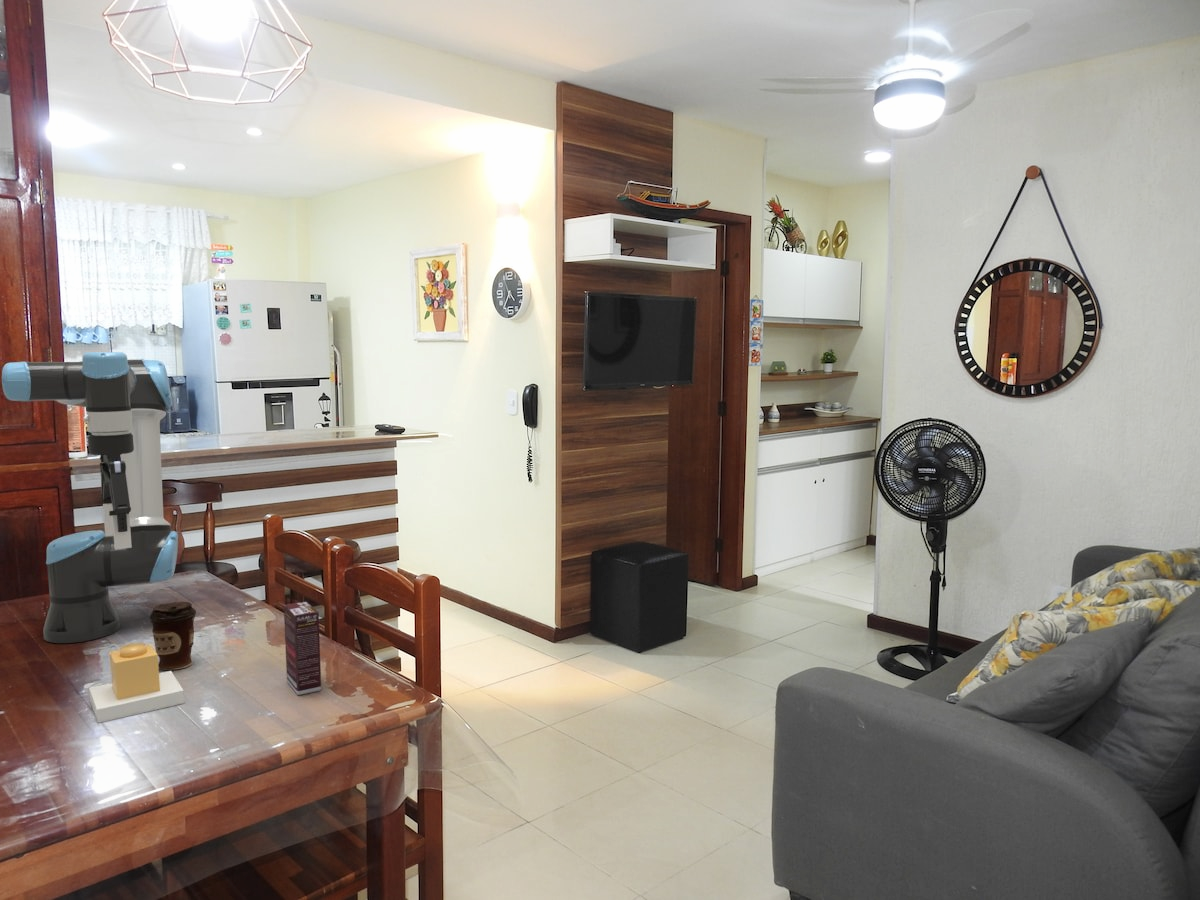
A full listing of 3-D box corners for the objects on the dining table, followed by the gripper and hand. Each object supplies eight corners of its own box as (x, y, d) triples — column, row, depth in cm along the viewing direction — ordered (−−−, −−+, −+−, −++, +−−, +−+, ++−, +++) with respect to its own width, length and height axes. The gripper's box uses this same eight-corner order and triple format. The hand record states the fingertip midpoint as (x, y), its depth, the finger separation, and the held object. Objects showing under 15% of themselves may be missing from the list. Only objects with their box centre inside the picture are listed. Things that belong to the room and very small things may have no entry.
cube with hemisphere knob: (112, 687, 158) (108, 645, 157) (153, 678, 162) (150, 638, 161) (117, 700, 153) (114, 656, 152) (160, 690, 157) (157, 648, 156)
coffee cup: (178, 675, 171) (174, 613, 169) (143, 672, 172) (138, 610, 171) (206, 659, 179) (203, 600, 177) (172, 656, 181) (168, 598, 179)
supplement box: (322, 690, 163) (319, 611, 161) (297, 696, 160) (293, 616, 158) (310, 676, 170) (307, 600, 168) (285, 681, 167) (282, 604, 165)
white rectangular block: (90, 700, 158) (87, 662, 157) (171, 682, 167) (169, 646, 166) (97, 723, 149) (94, 682, 148) (184, 703, 157) (181, 664, 156)
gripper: (80, 429, 168) (88, 532, 171) (95, 440, 148) (104, 557, 151) (123, 426, 173) (130, 528, 175) (143, 437, 153) (150, 551, 155)
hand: (118, 541), depth 163 cm, fingers open, 13 cm apart
